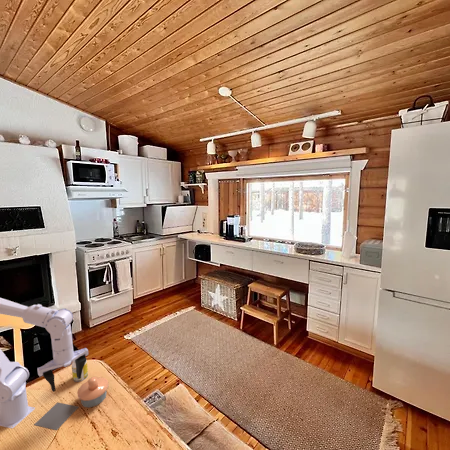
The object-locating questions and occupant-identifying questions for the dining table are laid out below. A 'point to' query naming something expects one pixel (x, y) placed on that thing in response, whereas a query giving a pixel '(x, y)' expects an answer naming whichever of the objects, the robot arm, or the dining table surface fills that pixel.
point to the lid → (92, 388)
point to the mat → (56, 416)
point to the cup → (94, 401)
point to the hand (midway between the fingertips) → (66, 383)
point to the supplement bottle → (83, 375)
